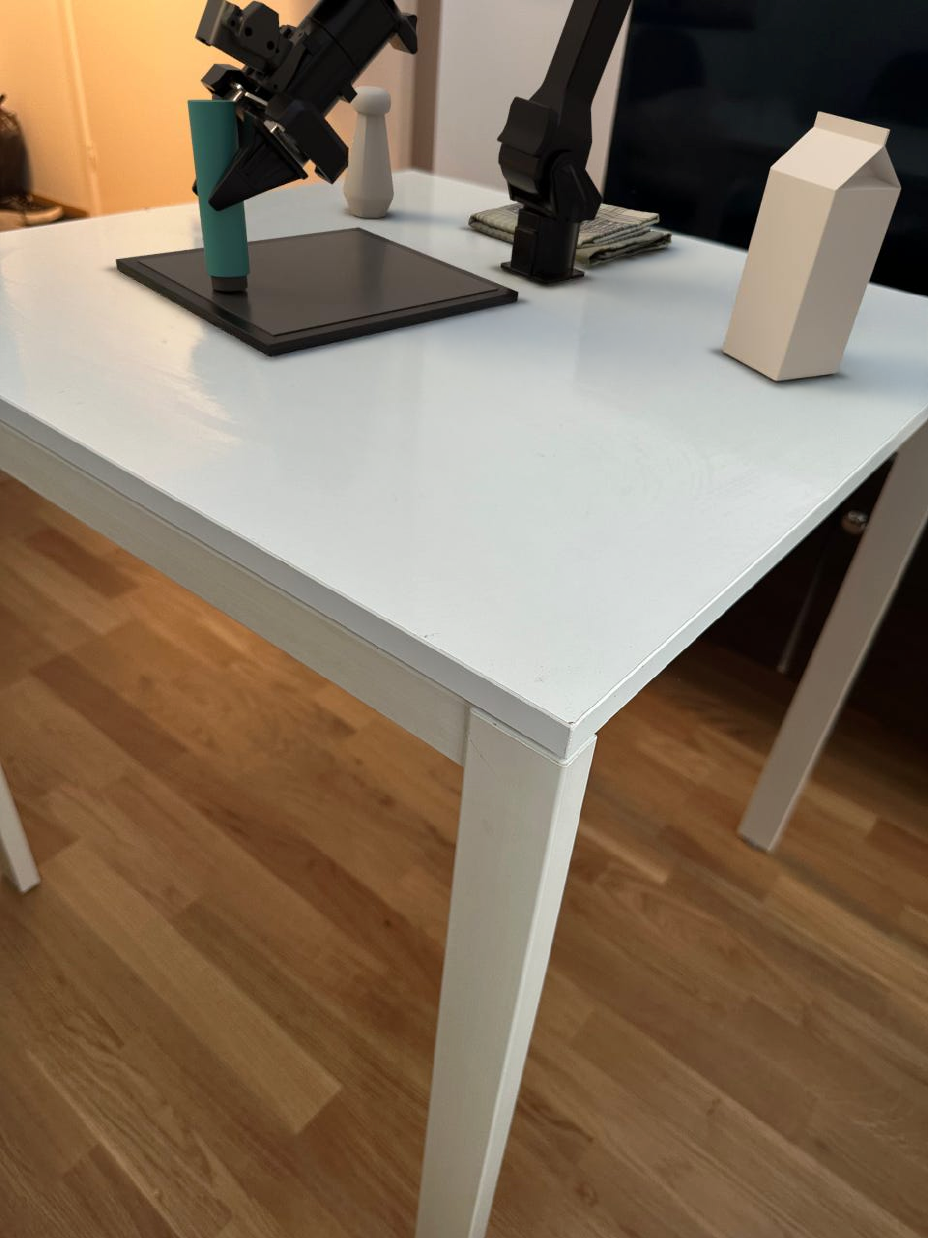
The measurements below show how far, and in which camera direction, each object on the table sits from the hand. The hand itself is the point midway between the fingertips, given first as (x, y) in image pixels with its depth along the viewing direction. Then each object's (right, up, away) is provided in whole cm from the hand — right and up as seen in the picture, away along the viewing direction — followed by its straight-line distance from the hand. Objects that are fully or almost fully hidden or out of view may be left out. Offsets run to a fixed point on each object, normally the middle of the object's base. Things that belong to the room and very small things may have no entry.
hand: (203, 200), depth 75 cm
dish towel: (+34, +11, +34) cm, 49 cm away
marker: (+1, -6, +4) cm, 7 cm away
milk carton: (+49, -12, +6) cm, 50 cm away
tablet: (+8, -3, +11) cm, 14 cm away
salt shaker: (+10, +13, +34) cm, 38 cm away
